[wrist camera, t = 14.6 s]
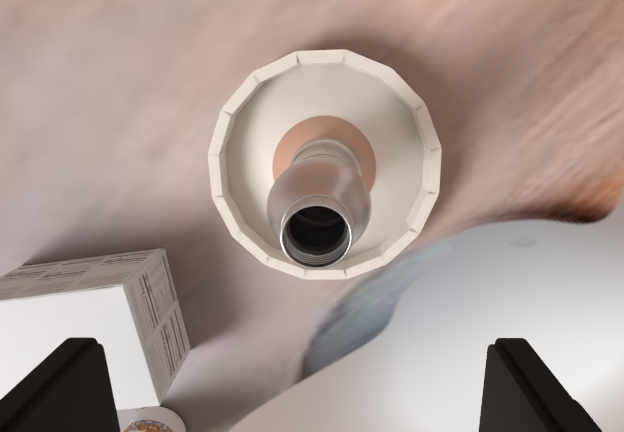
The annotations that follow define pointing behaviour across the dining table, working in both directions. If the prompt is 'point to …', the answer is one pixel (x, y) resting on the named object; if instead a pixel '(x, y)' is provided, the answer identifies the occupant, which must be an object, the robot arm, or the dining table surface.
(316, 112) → the round tray
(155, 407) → the bath foam
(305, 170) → the plastic bottle
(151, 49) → the dining table surface
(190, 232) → the dining table surface
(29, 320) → the supplement box
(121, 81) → the dining table surface
